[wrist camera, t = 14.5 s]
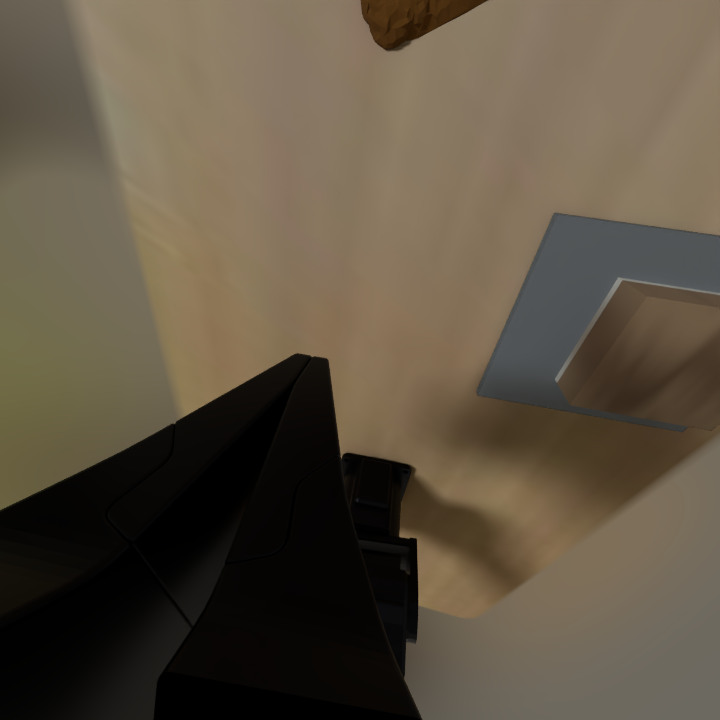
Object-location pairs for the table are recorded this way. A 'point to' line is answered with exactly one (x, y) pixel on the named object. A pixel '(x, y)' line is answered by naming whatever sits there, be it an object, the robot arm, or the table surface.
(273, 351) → the table surface
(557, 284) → the mat
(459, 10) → the primitive tool
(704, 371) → the tile
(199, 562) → the robot arm
